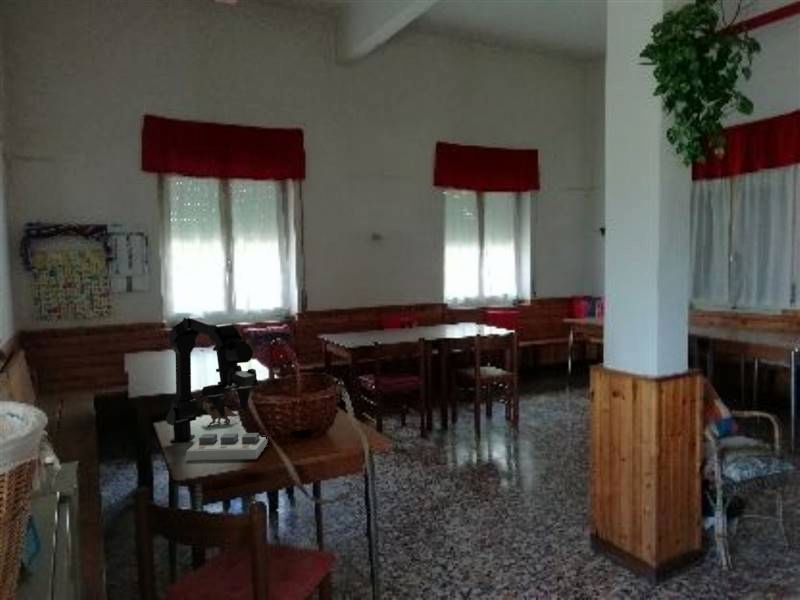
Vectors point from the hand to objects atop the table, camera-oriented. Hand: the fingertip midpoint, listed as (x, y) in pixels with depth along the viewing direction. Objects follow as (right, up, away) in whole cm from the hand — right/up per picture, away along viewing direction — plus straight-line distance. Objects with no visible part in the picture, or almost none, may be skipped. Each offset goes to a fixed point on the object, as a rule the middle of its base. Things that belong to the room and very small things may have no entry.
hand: (234, 413), depth 189 cm
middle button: (-4, -11, +9) cm, 15 cm away
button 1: (-11, -11, +9) cm, 18 cm away
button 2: (+3, -11, +8) cm, 14 cm away
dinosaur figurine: (-17, -12, +42) cm, 46 cm away
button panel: (-4, -14, +7) cm, 16 cm away
